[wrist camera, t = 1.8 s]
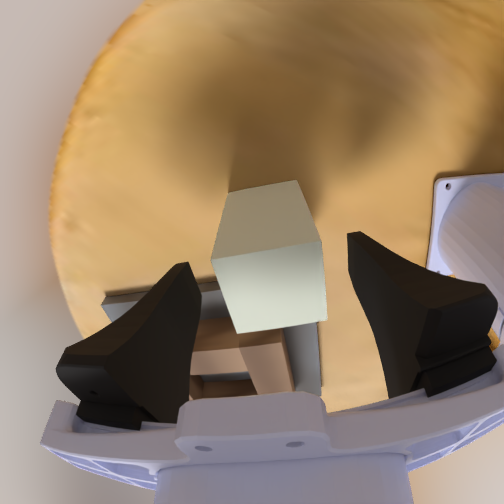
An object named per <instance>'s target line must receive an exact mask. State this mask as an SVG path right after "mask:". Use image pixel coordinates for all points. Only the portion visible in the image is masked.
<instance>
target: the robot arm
mask: <svg viewBox="0 0 504 504" xmlns="http://www.w3.org/2000/svg"><path fill="white" fill-rule="evenodd" d="M447 183H448V187H447V188H446V184H447ZM347 243H348V271H349V275H350V278H351V281H352V284H353V287H354V290H355V292H356V295H357V297H358V299H359V301H360V303H361V306H362V308H363V310H364V312H365V314H366V317H367V319H368V321H369V323H370V326H371V328H372V331H373V334H374V337H375V340H376V344H377V347H378V351H379V355H380V359H381V363H382V367H383V371H384V376H385V381H386V386H387V391H388V397H389V399H387V400H383V401H380V402H376V403H372V404H368V405H364V406H360V407H355V408H351V409H346V410H341V411H336V412H331V413H327V412H326V406H325V403H324V402H323V400H322V399H321V398H320V397H319V396H317V395H314V394H310V393H307V392H303V391H300V392H279V393H271V394H261V395H251V396H239V397H223V398H202V399H196V400H190V401H189V388H190V370H191V359H192V353H193V348H194V343H195V339H196V334H197V330H198V325H199V320H200V315H201V305H202V294H201V292H200V289H199V287H198V285H197V282H196V280H195V277H194V275H193V272H192V270H191V267H190V265H189V262H184V263H178V264H176V265H174V266H173V267H172V268H171V269H170V270H169V271H168V272H167V273H166V274H165V275H164V276H163V277H162V278H161V279H160V280H159V281H158V282H157V283H156V284H155V285H154V287H153V288H152V289H151V290H150V291H149V292H148V293H147V294H145V295H144V296H143V297H142V298H141V299H140V300H139V301H138V302H137V303H136V304H135V305H134V306H133V307H132V308H130V309H129V310H128V311H127V312H126V313H124V314H123V315H122V316H121V317H119V318H118V319H116V320H115V321H113V322H112V323H111V324H109V325H108V326H106V327H105V328H103V329H102V330H100V331H98V332H97V333H95V334H93V335H91V336H90V337H88V338H86V339H84V340H82V341H80V342H78V343H75V344H73V345H71V346H69V347H67V348H66V349H65V351H64V353H63V355H62V357H61V359H60V360H59V362H58V365H57V367H56V373H57V375H58V377H59V379H60V380H61V381H62V383H63V384H64V385H65V386H66V387H67V388H68V389H69V390H70V391H71V392H72V393H73V394H74V395H76V396H77V397H78V398H79V399H80V400H81V402H80V404H79V406H78V405H76V404H73V403H70V402H65V401H60V400H57V401H56V402H55V404H54V407H53V409H52V412H51V415H50V417H49V420H48V422H47V425H46V428H45V430H44V433H43V436H42V439H41V442H40V444H41V445H42V446H43V447H45V448H46V449H48V450H49V451H51V452H52V453H54V454H55V455H57V456H58V457H60V458H62V459H63V460H65V461H67V462H68V463H70V464H72V465H74V466H75V467H77V468H81V469H83V470H86V471H89V472H92V473H95V474H98V475H102V476H105V477H107V478H111V479H114V480H117V481H121V482H124V483H128V484H131V485H135V486H139V487H143V488H147V489H151V490H156V491H155V498H154V504H414V503H413V498H412V492H411V487H410V482H409V477H408V472H410V471H413V470H415V469H418V468H420V467H423V466H425V465H427V464H430V463H432V462H434V461H436V460H438V459H440V458H442V457H445V456H447V455H449V454H451V453H452V452H454V451H456V450H458V449H460V448H462V447H464V446H466V445H468V444H470V443H471V442H473V441H475V440H477V439H478V438H480V437H482V436H483V435H485V434H487V433H488V432H490V431H492V430H493V429H495V428H496V427H498V426H500V425H502V424H503V423H504V173H494V174H481V175H469V176H458V177H447V178H440V179H438V180H437V181H436V182H435V185H434V203H433V216H432V227H431V236H430V245H429V252H428V259H427V266H426V268H424V267H421V266H419V265H417V264H415V263H412V262H410V261H408V260H406V259H405V258H403V257H401V256H399V255H397V254H396V253H394V252H392V251H391V250H389V249H387V248H386V247H384V246H383V245H381V244H379V243H378V242H376V241H375V240H373V239H372V238H370V237H369V236H367V235H366V234H364V233H362V232H361V231H358V232H353V233H347ZM451 274H454V275H455V277H456V278H453V277H449V276H447V275H451ZM491 327H492V329H493V330H494V332H495V333H496V335H497V337H498V338H499V340H500V344H499V346H498V347H497V348H496V349H495V350H494V351H493V352H492V351H491V349H490V347H489V345H490V344H491V340H490V338H489V337H488V335H487V334H488V332H489V330H490V328H491Z"/></svg>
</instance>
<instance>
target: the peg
mask: <svg viewBox="0 0 504 504" xmlns="http://www.w3.org/2000/svg"><path fill="white" fill-rule="evenodd" d="M211 263H212V266H213V268H214V271H215V274H216V277H217V280H218V283H219V285H220V288H221V291H222V294H223V297H224V299H225V302H226V305H227V308H228V310H229V313H230V316H231V318H232V321H233V324H234V326H235V329H236V332H237V334H239V333H247V332H255V331H262V330H269V329H276V328H283V327H289V326H295V325H302V324H307V323H313V322H319V321H324V320H327V304H326V289H325V276H324V264H323V253H322V242H321V238H320V236H319V233H318V231H317V228H316V226H315V223H314V220H313V218H312V215H311V213H310V210H309V208H308V205H307V203H306V200H305V198H304V196H303V193H302V191H301V188H300V186H299V184H298V181H297V180H292V181H286V182H280V183H275V184H269V185H264V186H259V187H254V188H249V189H244V190H239V191H234V192H229V193H228V194H227V198H226V202H225V206H224V209H223V213H222V217H221V221H220V225H219V228H218V232H217V236H216V240H215V244H214V248H213V252H212V256H211Z"/></svg>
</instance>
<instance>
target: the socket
mask: <svg viewBox="0 0 504 504" xmlns="http://www.w3.org/2000/svg"><path fill="white" fill-rule="evenodd" d="M197 285H198V287H199V289H200V292H201V294H202V305H201V315H200V320H199V325H198V330H197V334H196V339H195V343H194V348H193V353H192V359H191V370H190V388H189V401H190V400H196V399H202V398H223V397H239V396H251V395H261V394H271V393H279V392H300V391H303V392H307V393H310V394H314V395H317V396H321V377H320V362H319V348H318V335H317V323H316V322H313V323H307V324H302V325H295V326H289V327H283V328H276V329H269V330H262V331H255V332H247V333H239V334H237V332H236V329H235V326H234V324H233V321H232V318H231V316H230V313H229V310H228V308H227V305H226V302H225V299H224V297H223V294H222V291H221V288H220V285H219V283H218V281H216V282H210V283H203V284H197ZM148 292H149V291H148ZM148 292H141V293H133V294H126V295H118V296H111V297H105V299H104V301H103V302H102V304H101V306H102V308H103V309H104V311H105V313H106V314H107V316H108V317H109V319H110V320H111V322H113V321H115V320H116V319H118V318H119V317H121V316H122V315H123V314H124V313H126V312H127V311H128V310H129V309H130V308H132V307H133V306H134V305H135V304H136V303H137V302H138V301H139V300H140V299H141V298H142V297H143V296H144V295H145V294H147V293H148Z"/></svg>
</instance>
